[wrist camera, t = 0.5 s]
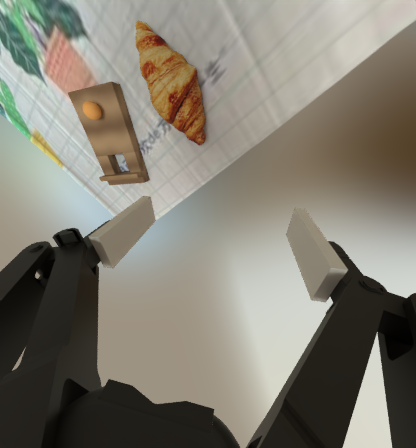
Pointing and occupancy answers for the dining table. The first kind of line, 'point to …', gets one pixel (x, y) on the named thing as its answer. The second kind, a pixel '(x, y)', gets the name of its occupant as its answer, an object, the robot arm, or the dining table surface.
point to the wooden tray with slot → (111, 133)
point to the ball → (91, 110)
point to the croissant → (171, 84)
